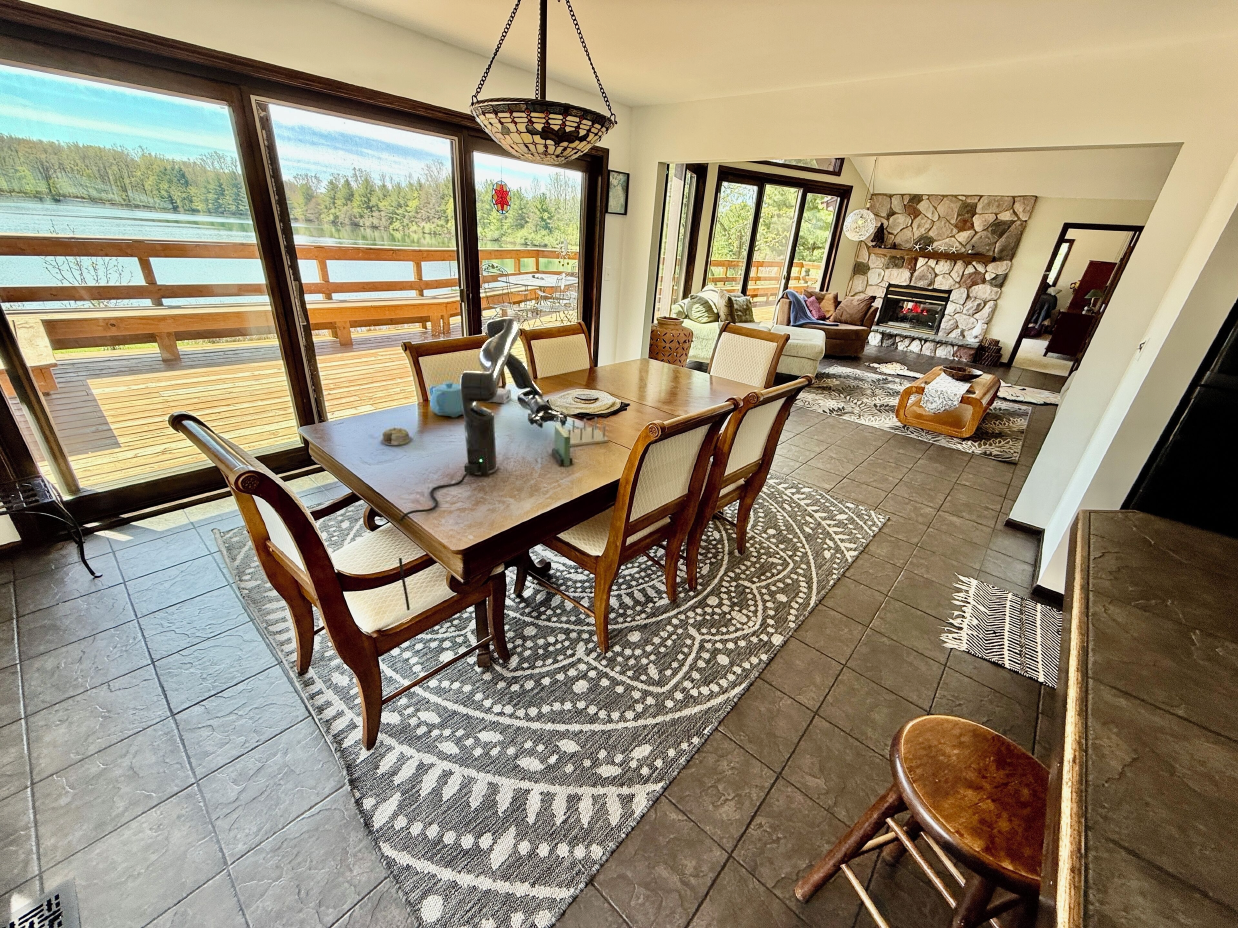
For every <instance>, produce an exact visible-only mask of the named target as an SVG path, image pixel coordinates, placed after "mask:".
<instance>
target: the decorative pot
mask: <svg viewBox="0 0 1238 928" xmlns="http://www.w3.org/2000/svg"><path fill="white" fill-rule="evenodd" d="M428 390H429V394H430V396H431V397H430V399H429V402H430V404H429V405H430V409H431V411H432V412H433V413H435V414H437V416H447V417H450V418H458V416H461V415H463V407H462V399H461V393H460V383H454V382H453V381H445V382H444V383H442V384H439V385H436V384H434V385H431V386H430V387H429V389H428Z"/></svg>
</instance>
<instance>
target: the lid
mask: <svg viewBox="0 0 1238 928" xmlns="http://www.w3.org/2000/svg"><path fill="white" fill-rule="evenodd" d="M565 430H566V429H564V427H563V428H562V427H561V424H559V425H554V449H555V450H556V451H557V453H558V454H559V455H560V457H561V458H562V459H563V467H569V466H571V465H570V456H571V446H570V436H569V435H568V434H567V432H566V431H565Z"/></svg>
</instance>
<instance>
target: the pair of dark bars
mask: <svg viewBox="0 0 1238 928" xmlns="http://www.w3.org/2000/svg"><path fill="white" fill-rule="evenodd" d="M551 455H552V457H553V458H554V460H555V461H556V462H557V464H558V465H559V466H560V467H564V465H563V459H562V458H561V457H560V455H559V454H558V453H557V451H556V450H555V447H553V448H551ZM572 465H573V457H572V456H571V455H570V466H572Z"/></svg>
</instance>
